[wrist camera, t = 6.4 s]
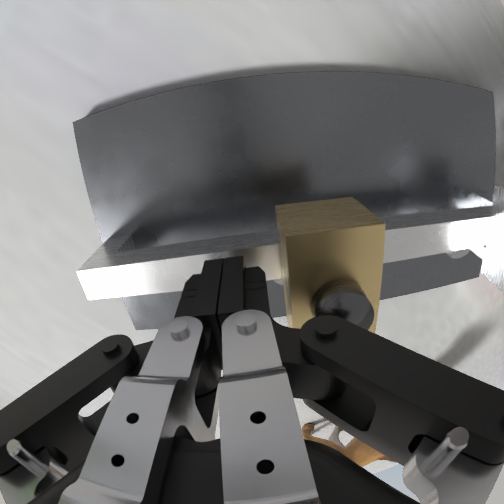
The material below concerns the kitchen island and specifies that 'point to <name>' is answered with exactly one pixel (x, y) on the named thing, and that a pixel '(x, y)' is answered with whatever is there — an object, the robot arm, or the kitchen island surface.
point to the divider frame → (268, 251)
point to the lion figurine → (347, 446)
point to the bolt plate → (287, 164)
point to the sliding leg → (331, 260)
